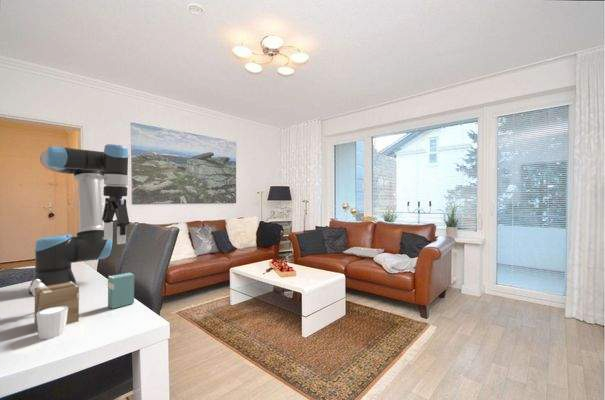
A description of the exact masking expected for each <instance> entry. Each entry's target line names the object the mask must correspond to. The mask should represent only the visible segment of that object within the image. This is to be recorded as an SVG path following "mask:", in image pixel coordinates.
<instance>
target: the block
mask: <svg viewBox="0 0 605 400" xmlns="http://www.w3.org/2000/svg"><path fill="white" fill-rule="evenodd" d="M134 303H135V274H133V273H132V272H125V273H119V274H114V275H108V277H107V307H109V308H110V309H116V308H120V307H125V306H128V305H132V304H134Z"/></svg>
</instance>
